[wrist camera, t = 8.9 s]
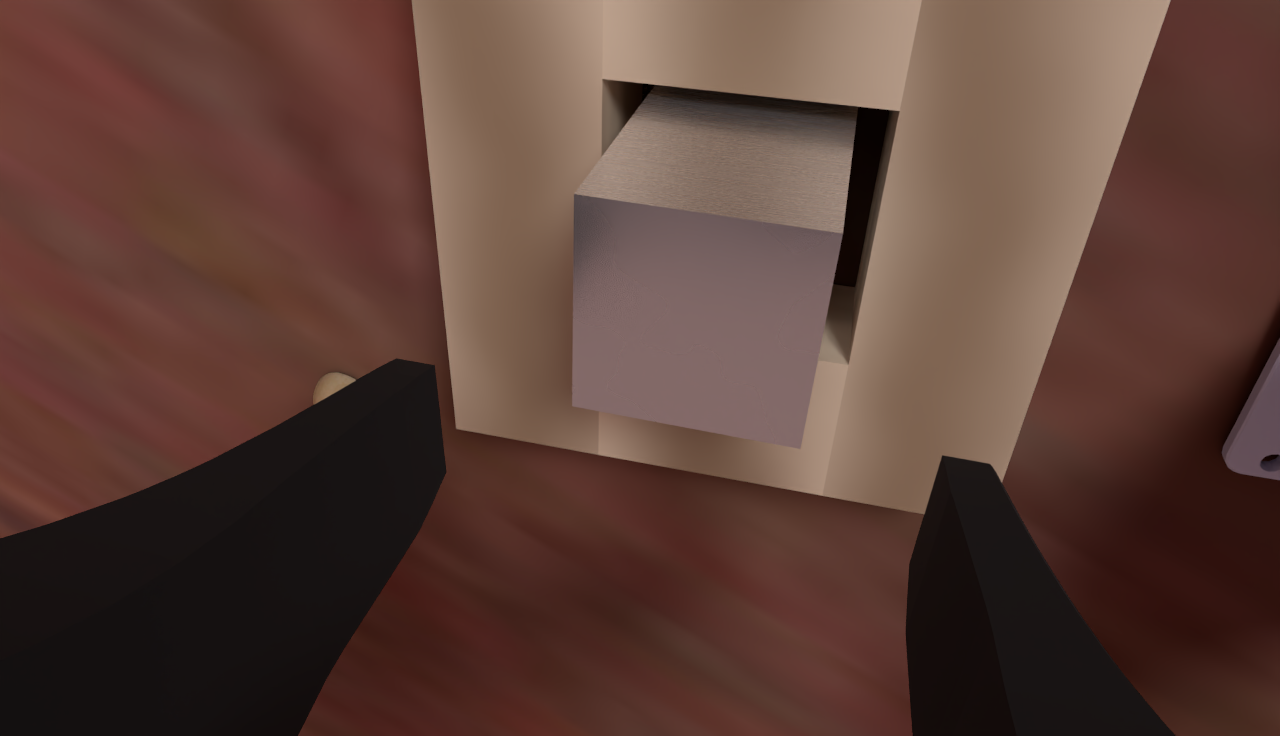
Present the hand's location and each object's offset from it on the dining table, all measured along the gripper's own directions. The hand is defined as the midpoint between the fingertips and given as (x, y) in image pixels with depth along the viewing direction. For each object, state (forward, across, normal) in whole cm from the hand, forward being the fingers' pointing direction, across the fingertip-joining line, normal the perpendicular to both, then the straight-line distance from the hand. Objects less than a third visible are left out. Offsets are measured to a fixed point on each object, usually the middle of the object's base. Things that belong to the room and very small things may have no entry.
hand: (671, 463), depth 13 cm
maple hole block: (+10, 0, 0) cm, 10 cm away
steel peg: (+10, 0, -1) cm, 10 cm away
